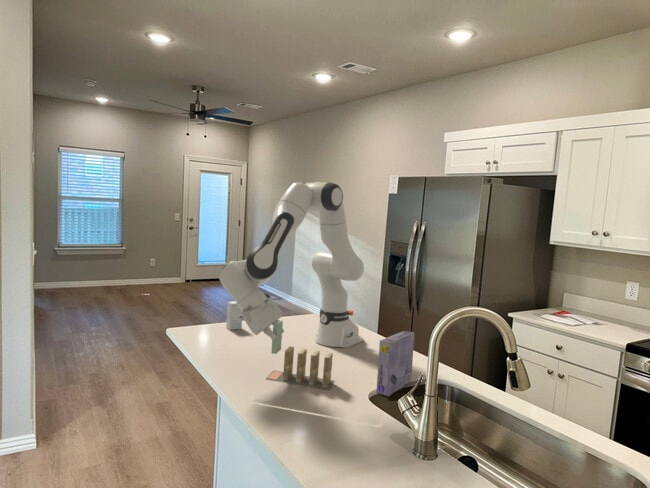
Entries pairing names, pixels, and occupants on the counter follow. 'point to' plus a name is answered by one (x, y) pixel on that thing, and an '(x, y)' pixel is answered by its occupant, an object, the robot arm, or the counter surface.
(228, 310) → the skincare box
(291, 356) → the maple domino
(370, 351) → the counter surface
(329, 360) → the maple domino
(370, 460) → the counter surface
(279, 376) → the charcoal mat
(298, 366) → the maple domino
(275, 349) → the sage domino
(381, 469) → the counter surface
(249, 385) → the counter surface
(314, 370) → the maple domino
